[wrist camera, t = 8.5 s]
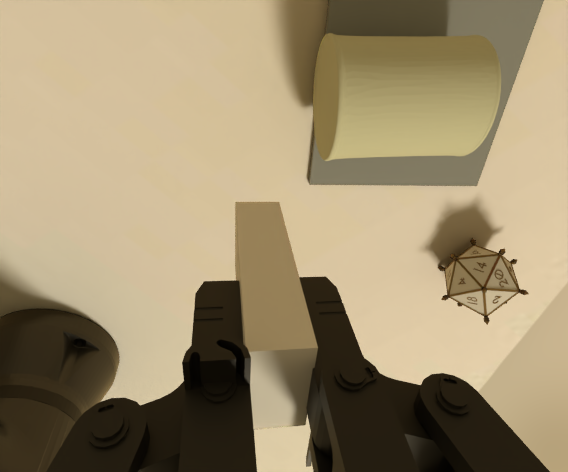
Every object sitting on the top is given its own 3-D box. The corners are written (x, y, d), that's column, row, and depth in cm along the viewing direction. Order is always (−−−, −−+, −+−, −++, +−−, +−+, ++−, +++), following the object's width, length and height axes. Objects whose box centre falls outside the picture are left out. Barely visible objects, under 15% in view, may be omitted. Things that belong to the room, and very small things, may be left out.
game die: (434, 239, 51) (433, 252, 41) (509, 230, 47) (527, 242, 38) (444, 307, 51) (445, 335, 42) (519, 302, 48) (538, 332, 39)
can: (327, 185, 31) (473, 179, 32) (346, 66, 24) (529, 65, 25) (309, 122, 37) (431, 120, 38) (320, 14, 30) (467, 15, 32)
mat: (308, 182, 40) (309, 184, 39) (332, -35, 30) (334, -36, 30) (473, 183, 42) (476, 185, 42) (544, -16, 33) (549, -16, 32)
